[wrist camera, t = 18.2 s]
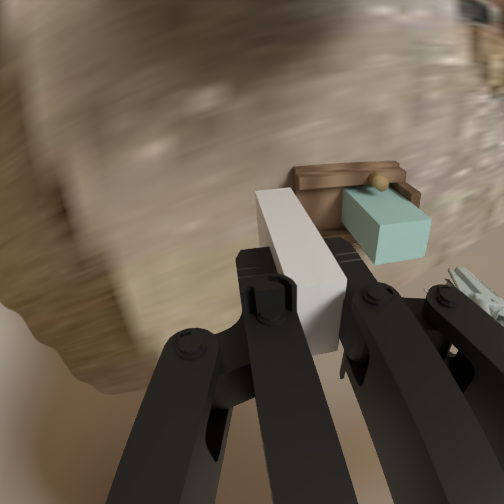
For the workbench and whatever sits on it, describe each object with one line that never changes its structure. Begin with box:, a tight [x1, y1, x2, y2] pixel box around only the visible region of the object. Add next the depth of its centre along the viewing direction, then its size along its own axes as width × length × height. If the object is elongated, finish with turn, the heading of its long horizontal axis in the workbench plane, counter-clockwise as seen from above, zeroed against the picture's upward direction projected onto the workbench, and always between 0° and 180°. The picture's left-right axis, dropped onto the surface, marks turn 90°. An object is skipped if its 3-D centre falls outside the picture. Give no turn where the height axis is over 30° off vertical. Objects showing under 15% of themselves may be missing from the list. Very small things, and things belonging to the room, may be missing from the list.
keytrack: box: [293, 161, 421, 243], centre depth 40 cm, size 15×11×7 cm
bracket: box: [424, 267, 504, 327], centre depth 46 cm, size 28×7×20 cm, turn 75°
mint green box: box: [341, 186, 432, 265], centre depth 38 cm, size 7×5×11 cm
